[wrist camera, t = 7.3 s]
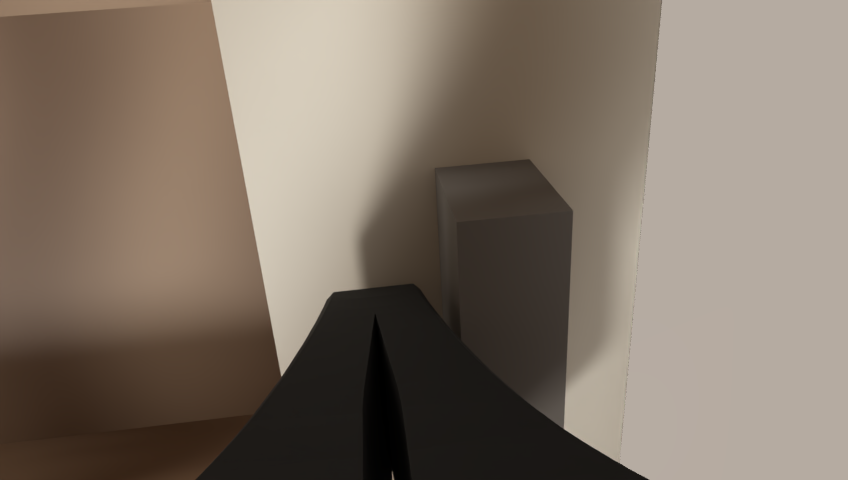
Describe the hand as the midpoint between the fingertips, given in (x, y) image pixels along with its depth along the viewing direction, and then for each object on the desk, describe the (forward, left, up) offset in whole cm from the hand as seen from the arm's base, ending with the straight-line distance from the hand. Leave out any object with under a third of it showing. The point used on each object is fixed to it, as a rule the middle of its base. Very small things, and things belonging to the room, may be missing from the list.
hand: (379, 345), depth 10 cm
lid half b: (-1, -1, -1) cm, 2 cm away
